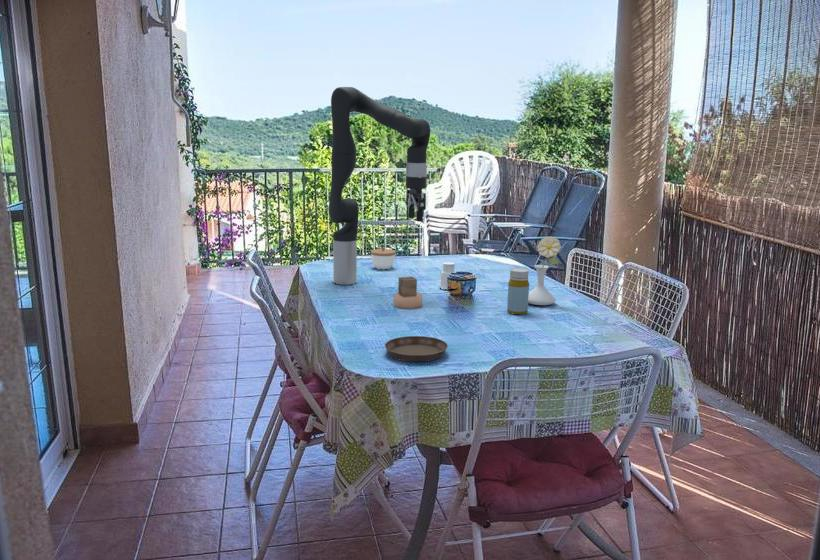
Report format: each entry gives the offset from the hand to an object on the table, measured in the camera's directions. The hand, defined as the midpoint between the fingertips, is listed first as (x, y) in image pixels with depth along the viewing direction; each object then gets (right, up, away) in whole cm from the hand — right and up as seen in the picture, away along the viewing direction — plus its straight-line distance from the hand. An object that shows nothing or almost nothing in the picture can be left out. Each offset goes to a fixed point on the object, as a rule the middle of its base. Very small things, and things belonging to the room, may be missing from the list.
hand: (415, 219), depth 271 cm
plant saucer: (0, -44, -63) cm, 77 cm away
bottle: (+35, -34, -17) cm, 51 cm away
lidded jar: (-14, -17, +50) cm, 55 cm away
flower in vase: (+45, -31, -5) cm, 55 cm away
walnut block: (-3, -27, -11) cm, 30 cm away
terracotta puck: (-3, -31, -10) cm, 33 cm away
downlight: (+13, -26, +16) cm, 33 cm away
